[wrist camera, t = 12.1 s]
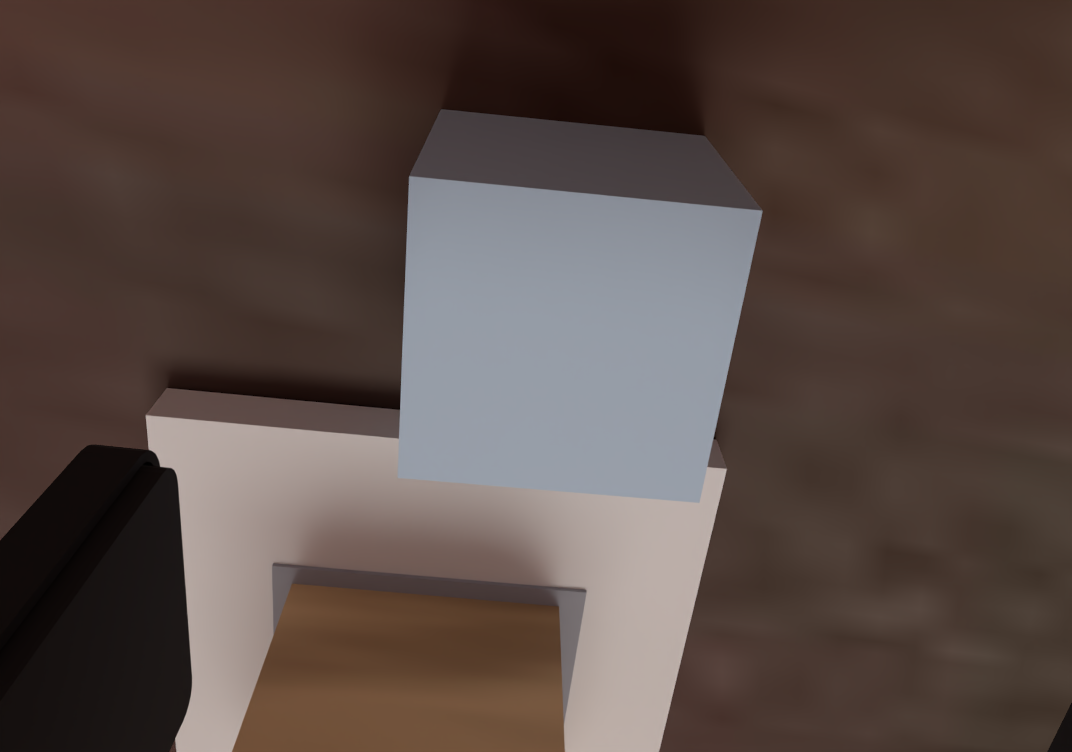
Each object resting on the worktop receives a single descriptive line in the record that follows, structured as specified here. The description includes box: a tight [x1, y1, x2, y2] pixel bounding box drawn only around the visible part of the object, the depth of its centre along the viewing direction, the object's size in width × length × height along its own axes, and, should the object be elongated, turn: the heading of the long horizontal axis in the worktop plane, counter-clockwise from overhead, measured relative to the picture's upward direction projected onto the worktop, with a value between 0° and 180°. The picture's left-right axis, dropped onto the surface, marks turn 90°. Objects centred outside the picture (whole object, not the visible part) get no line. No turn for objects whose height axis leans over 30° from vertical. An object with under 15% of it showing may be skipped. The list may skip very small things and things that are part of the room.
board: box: [146, 388, 727, 752], centre depth 23 cm, size 14×12×1 cm
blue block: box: [398, 109, 762, 503], centre depth 16 cm, size 5×5×5 cm
